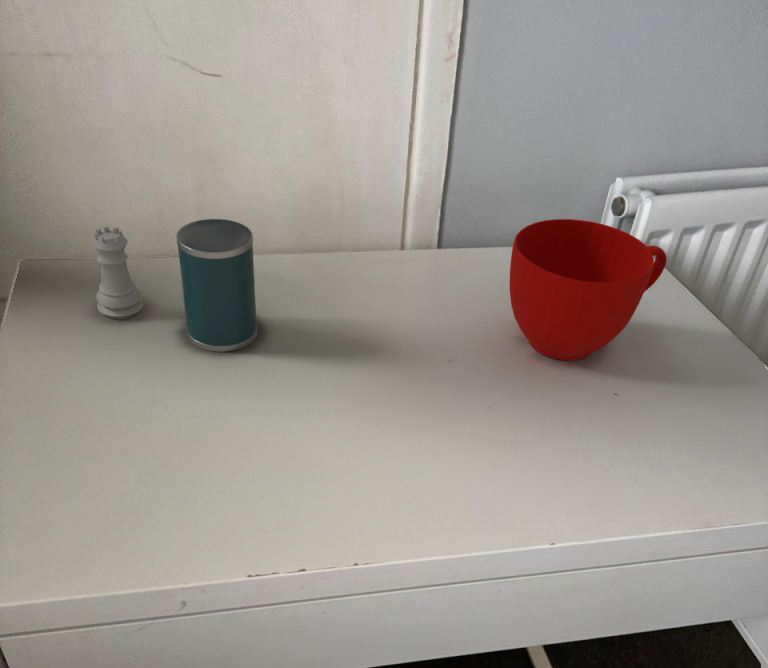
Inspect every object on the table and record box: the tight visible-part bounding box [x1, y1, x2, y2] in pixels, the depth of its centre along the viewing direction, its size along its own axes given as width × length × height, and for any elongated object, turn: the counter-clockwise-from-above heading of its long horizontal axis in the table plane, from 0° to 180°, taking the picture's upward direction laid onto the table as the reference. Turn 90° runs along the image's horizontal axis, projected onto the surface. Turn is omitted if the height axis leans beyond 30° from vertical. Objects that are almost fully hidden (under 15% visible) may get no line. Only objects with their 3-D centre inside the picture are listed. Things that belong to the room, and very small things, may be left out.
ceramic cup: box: [508, 218, 667, 361], centre depth 81 cm, size 13×17×10 cm
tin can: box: [175, 218, 258, 353], centre depth 78 cm, size 7×7×10 cm
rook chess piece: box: [91, 226, 145, 320], centre depth 80 cm, size 4×4×8 cm
